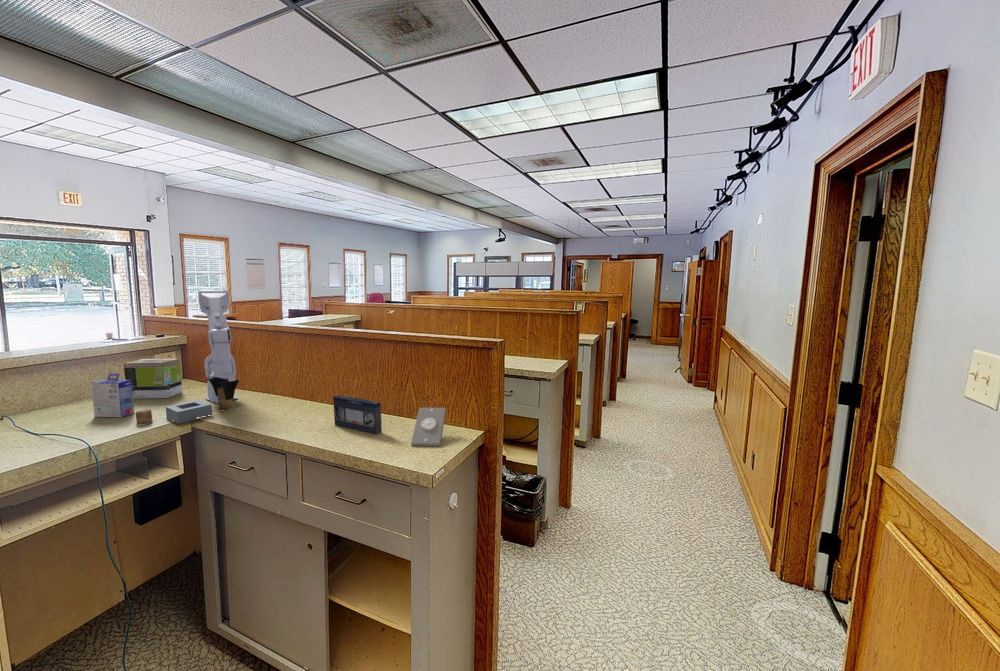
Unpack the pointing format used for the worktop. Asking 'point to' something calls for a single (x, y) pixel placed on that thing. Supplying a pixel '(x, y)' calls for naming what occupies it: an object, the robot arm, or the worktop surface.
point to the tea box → (154, 377)
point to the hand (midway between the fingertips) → (224, 397)
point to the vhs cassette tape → (357, 414)
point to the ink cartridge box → (112, 397)
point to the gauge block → (188, 411)
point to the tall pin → (223, 400)
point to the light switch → (429, 427)
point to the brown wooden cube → (144, 416)
